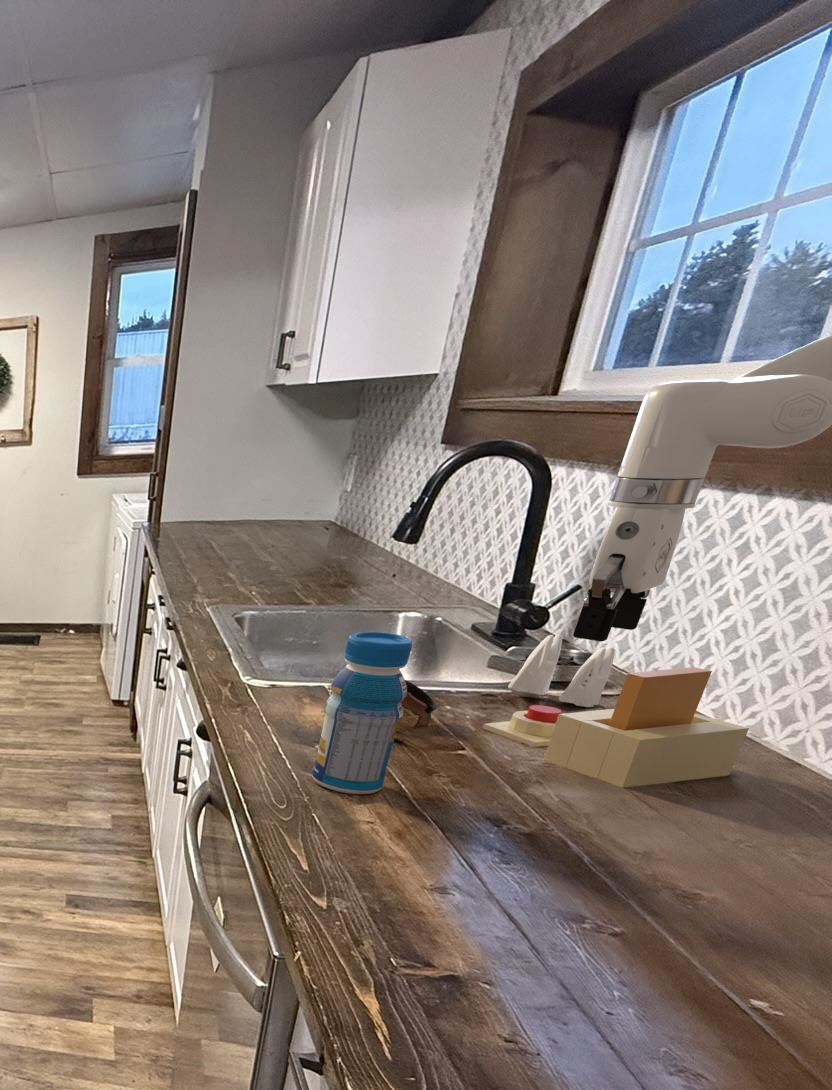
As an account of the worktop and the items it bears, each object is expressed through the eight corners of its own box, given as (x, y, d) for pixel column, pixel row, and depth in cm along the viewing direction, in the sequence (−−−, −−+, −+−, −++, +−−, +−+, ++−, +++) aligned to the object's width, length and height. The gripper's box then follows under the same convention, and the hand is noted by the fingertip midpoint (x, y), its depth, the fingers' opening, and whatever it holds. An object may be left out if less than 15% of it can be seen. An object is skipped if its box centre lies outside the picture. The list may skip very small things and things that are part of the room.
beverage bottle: (343, 800, 106) (380, 648, 98) (294, 775, 113) (325, 632, 105) (399, 792, 107) (439, 642, 99) (347, 768, 115) (381, 627, 107)
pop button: (540, 715, 121) (543, 704, 120) (564, 723, 118) (568, 711, 117) (519, 717, 120) (522, 706, 120) (543, 725, 117) (546, 714, 117)
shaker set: (504, 698, 139) (524, 634, 135) (504, 692, 142) (523, 629, 138) (599, 710, 132) (623, 643, 128) (597, 703, 135) (621, 637, 131)
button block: (537, 731, 125) (545, 706, 123) (591, 750, 118) (600, 723, 116) (479, 737, 123) (487, 712, 122) (530, 756, 116) (539, 730, 115)
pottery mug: (367, 712, 136) (408, 674, 131) (410, 752, 131) (455, 715, 125) (325, 706, 131) (367, 667, 126) (368, 748, 125) (413, 709, 120)
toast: (656, 760, 110) (693, 666, 105) (673, 766, 108) (712, 671, 103) (592, 768, 108) (627, 673, 103) (608, 773, 106) (644, 677, 101)
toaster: (639, 757, 114) (659, 703, 111) (727, 787, 105) (752, 728, 102) (537, 768, 112) (555, 713, 109) (618, 800, 103) (641, 740, 100)
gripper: (670, 500, 92) (616, 650, 98) (721, 490, 100) (667, 629, 106) (585, 496, 98) (539, 638, 104) (639, 487, 106) (593, 618, 112)
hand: (604, 633), depth 105 cm, fingers open, 9 cm apart
